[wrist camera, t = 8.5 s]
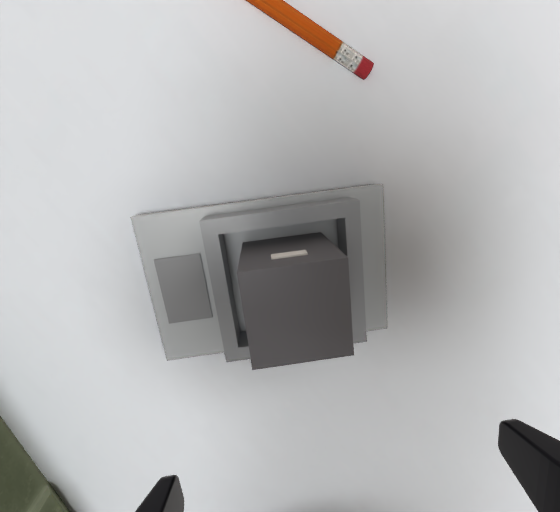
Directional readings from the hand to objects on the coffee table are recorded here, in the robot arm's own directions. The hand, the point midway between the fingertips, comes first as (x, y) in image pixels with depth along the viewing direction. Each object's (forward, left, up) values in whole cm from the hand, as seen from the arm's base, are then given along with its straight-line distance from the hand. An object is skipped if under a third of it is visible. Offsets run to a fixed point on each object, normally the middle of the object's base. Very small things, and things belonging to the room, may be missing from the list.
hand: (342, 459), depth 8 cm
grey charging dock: (+2, +1, -12) cm, 12 cm away
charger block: (+2, 0, -11) cm, 11 cm away
